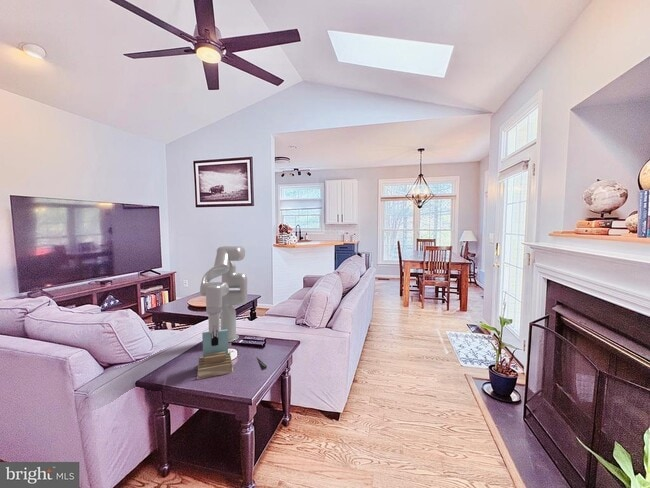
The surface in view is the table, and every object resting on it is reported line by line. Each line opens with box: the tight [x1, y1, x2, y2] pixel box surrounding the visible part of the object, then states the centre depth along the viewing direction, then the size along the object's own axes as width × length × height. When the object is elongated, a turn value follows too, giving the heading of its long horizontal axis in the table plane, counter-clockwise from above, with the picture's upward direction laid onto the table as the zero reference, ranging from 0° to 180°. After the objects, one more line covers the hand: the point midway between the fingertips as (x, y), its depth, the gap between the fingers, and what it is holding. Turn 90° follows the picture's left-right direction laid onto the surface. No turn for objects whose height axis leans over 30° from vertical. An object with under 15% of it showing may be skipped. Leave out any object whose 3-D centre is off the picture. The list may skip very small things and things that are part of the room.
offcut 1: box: [204, 351, 226, 357], centre depth 139 cm, size 2×10×7 cm, turn 113°
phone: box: [256, 356, 268, 371], centre depth 145 cm, size 8×1×15 cm
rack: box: [196, 352, 234, 380], centre depth 138 cm, size 15×16×5 cm
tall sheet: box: [201, 329, 229, 360], centre depth 143 cm, size 2×12×16 cm, turn 113°
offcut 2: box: [204, 354, 226, 365], centre depth 137 cm, size 2×10×7 cm, turn 113°
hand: (214, 344), depth 142 cm, fingers closed on tall sheet, 1 cm apart
